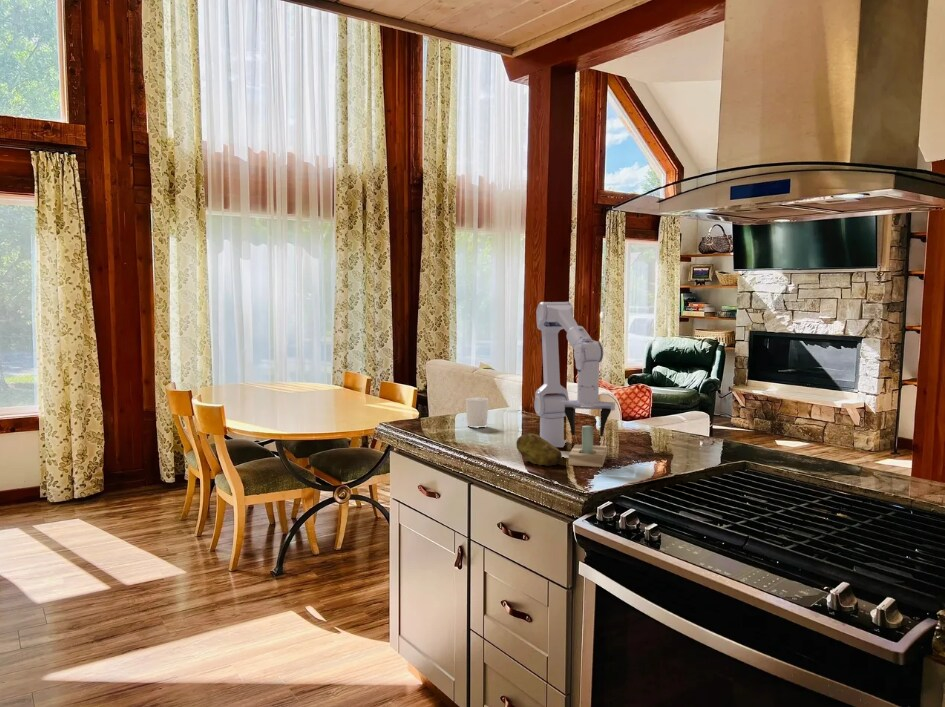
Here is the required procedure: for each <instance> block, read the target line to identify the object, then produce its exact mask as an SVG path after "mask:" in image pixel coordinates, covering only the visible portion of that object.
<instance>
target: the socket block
mask: <svg viewBox="0 0 945 707" xmlns="http://www.w3.org/2000/svg"><path fill="white" fill-rule="evenodd" d="M569 452H570V454H569V458H568V466H582V467H596V468H597V467H599V468H602V467H603V466H604V464H605V461H606V458H607V446H606V445H594V444H593V454H584V453H582V444H574V445H573V447H572V449H571V450H570V451H569Z"/></svg>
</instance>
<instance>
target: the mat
mask: <svg viewBox="0 0 945 707" xmlns="http://www.w3.org/2000/svg"><path fill="white" fill-rule="evenodd" d="M559 451H560V452H561V454H562V457H564V458H565V459H569V454H570V452H571V451H566V450H559Z"/></svg>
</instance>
